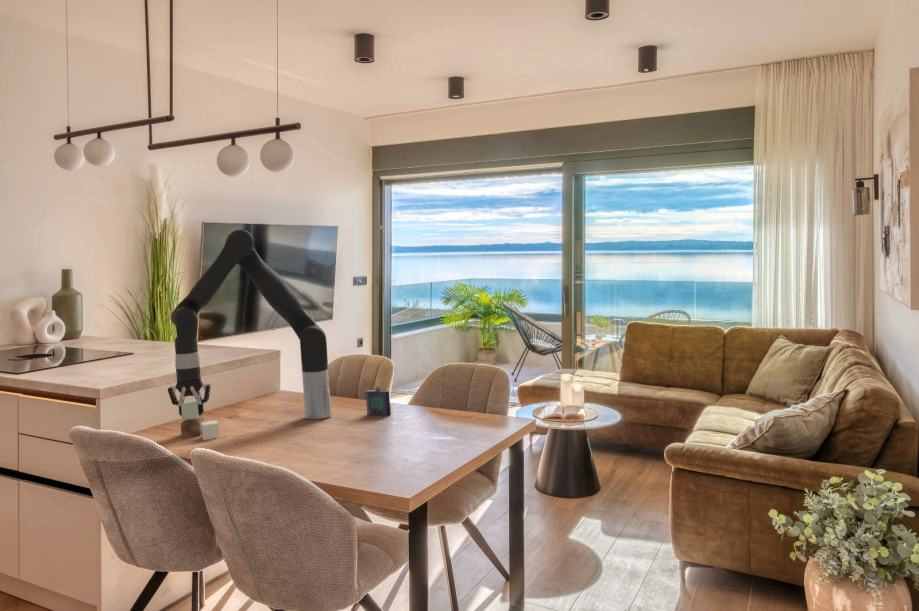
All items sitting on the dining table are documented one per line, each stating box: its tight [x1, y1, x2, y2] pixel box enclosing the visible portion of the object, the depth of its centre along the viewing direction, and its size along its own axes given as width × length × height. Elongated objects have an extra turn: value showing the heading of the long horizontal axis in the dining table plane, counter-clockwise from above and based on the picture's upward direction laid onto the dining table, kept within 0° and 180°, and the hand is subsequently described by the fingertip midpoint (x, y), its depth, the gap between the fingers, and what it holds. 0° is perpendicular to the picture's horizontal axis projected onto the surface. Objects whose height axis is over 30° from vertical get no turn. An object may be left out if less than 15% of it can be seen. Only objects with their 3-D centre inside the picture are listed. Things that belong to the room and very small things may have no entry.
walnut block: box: [180, 417, 205, 438], centre depth 224 cm, size 6×6×5 cm
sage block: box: [181, 400, 202, 420], centre depth 223 cm, size 5×5×5 cm
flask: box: [365, 385, 392, 417], centre depth 239 cm, size 9×3×11 cm, turn 71°
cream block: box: [201, 419, 220, 441], centre depth 219 cm, size 5×5×5 cm
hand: (191, 415), depth 223 cm, fingers closed on sage block, 5 cm apart
